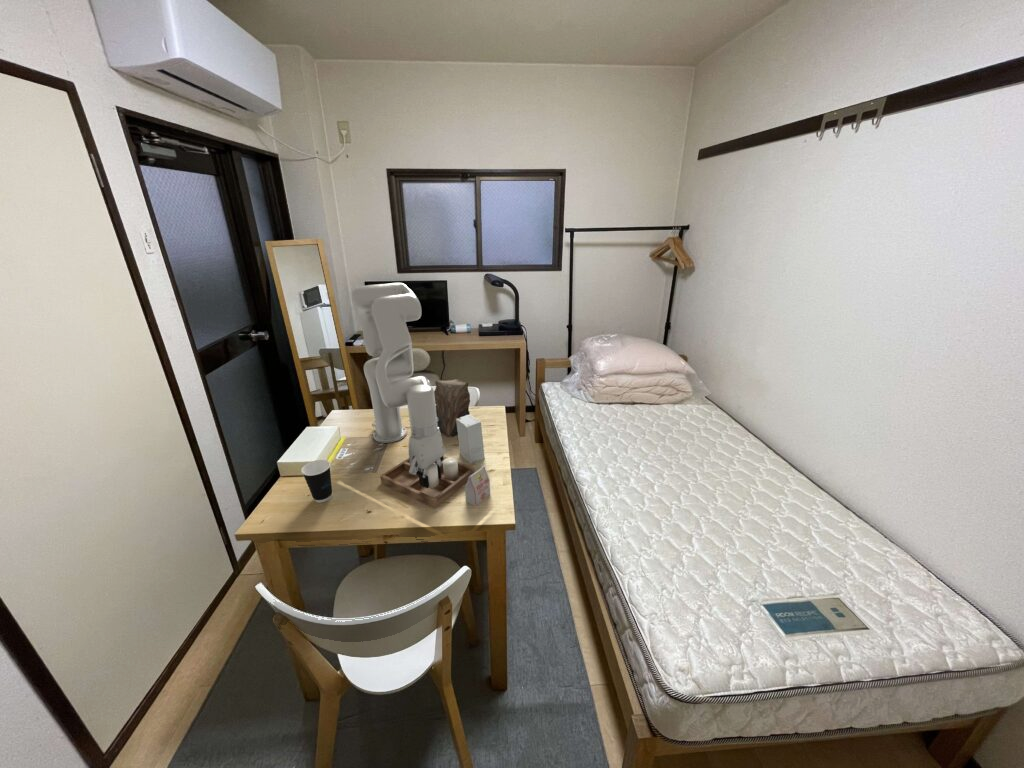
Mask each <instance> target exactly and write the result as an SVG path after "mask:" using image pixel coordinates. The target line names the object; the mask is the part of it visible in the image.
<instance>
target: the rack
mask: <svg viewBox="0 0 1024 768" xmlns="http://www.w3.org/2000/svg"><path fill="white" fill-rule="evenodd" d="M446 458H448V457H446V456H445V455H444V456H443V459H442V462H441V463H442V465H441V466H440V469H441V479H439V484H438V485H437V486H436V487H434V488H425V487H423V486H421V485H420V481H419V476H418V475H413V474H410V473H409V470H410V467H411V465H410V461H409V457H408V458H406V459H405V460H402V461H401V462H400V463H398V464H397V465H394V466H393V467H392V468H391V469H389V470H387V471H386V472H384V473H382V474H381V475H380V476H379V477H380V484H382V485H384V486H386V487H389V488H391V489H393V490H395V491H397V492H399V493H401V494H403V495H405V496H407V497H409V498H412V499H413V500H416V501H418V502H420V503H422V504H424V505H426V506H428V507H430V508H432V509H435V510H436V509H437V508H439V506H441V505H442V504H443V503H444V502H446V500H448V499H449V498H451V497H452V496H453V495H454V494H456V492H457V491H459V490H460V489H462V488H463V487H465V486H466V483H467V481H468V477H469V476H471V475H472V474H474V473H475V472H476V471H477V470H476V467H473V466H470V465H468V464H465V463H463V462H460V461H458V460H457V462H458V474H459V478H458V479H457V480H456V481H452V480H449V479H447V478H444V471H443V460H444V459H446ZM416 470H417V468H416ZM421 472H422V470H421Z"/></svg>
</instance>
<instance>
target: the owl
mask: <svg viewBox="0 0 1024 768" xmlns="http://www.w3.org/2000/svg"><path fill="white" fill-rule="evenodd" d="M435 385H436V386H435V389H434V395H435V405H436V414H437V418H438V421H437V423H438V428H439V430H440V433H441V435H442V434H443V435H444V436H446V437H447V438H450V437H451V438H454V437H456V436H458V431H457V423H456V419H457V418H460V417H463V416H466V415H469V414H471V413H470V410H469V407H470V403H471V400H470V399H471V394H470V393H471V392H469V382H468V381H465V382H464V381H462V380H460V379H457V378H454V379H448V380H443V379H441V380H435Z"/></svg>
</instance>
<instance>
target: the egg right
mask: <svg viewBox="0 0 1024 768" xmlns="http://www.w3.org/2000/svg"><path fill="white" fill-rule="evenodd" d="M457 461H458V459H457V458H456V457H453V456H452V457H447V458H446V459H444V460H443V471H444V478H447V479H449V480H452V481H456V480H457V479H458V478H459V474H458V462H459V461H458V462H457Z"/></svg>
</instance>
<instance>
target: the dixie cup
mask: <svg viewBox="0 0 1024 768" xmlns="http://www.w3.org/2000/svg"><path fill="white" fill-rule="evenodd" d="M331 465H332V464H331V462H330V461H329V460H327V459H315V460H313V461H310V462H307V463H305V465H303V466H302V467H301V470H300V473H301V474H302V475H303V477H304V480H305V482H306V484H307V487H308V489H309V491H310V494H311V496H312V498H313V500H314V501H315V502H316V503H324V502H326V501H329V500H331V498H332V496H333V495H332V494H333V486H332V478H331V477H332V476H331Z"/></svg>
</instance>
